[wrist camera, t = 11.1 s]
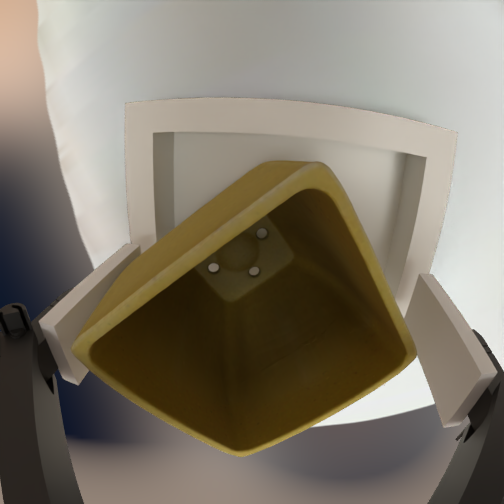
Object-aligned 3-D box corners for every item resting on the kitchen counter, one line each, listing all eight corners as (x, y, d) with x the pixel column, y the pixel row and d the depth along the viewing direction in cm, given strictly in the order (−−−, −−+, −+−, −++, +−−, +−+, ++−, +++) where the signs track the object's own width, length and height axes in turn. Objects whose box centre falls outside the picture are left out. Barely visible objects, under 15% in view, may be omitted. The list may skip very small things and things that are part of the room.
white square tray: (154, 104, 16) (125, 103, 12) (428, 129, 14) (457, 132, 11) (167, 329, 22) (149, 359, 19) (375, 352, 21) (384, 385, 17)
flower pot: (121, 236, 15) (61, 354, 7) (254, 131, 14) (327, 153, 6) (220, 335, 19) (239, 460, 11) (336, 257, 18) (421, 358, 10)
